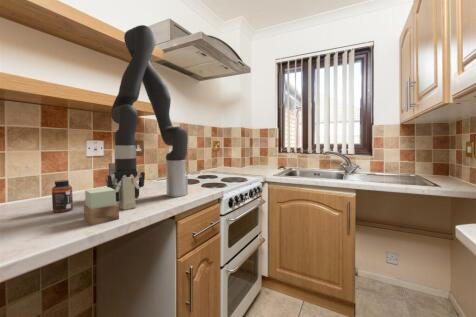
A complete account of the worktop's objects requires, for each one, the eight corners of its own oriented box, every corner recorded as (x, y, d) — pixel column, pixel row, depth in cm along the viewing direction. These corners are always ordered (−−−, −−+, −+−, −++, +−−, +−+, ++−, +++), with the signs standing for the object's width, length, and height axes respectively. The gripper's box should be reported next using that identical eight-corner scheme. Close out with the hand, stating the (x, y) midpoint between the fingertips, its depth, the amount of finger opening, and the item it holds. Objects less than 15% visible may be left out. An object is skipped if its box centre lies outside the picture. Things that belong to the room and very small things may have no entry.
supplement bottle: (74, 210, 83) (73, 180, 82) (54, 214, 78) (52, 182, 78) (71, 207, 87) (69, 178, 86) (51, 210, 82) (49, 180, 81)
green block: (109, 201, 78) (108, 187, 77) (116, 204, 73) (115, 190, 73) (85, 205, 73) (85, 190, 72) (91, 209, 68) (90, 193, 68)
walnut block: (111, 214, 79) (110, 200, 78) (119, 219, 73) (118, 204, 73) (84, 220, 73) (83, 205, 73) (91, 226, 67) (90, 210, 67)
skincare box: (135, 208, 86) (135, 177, 85) (124, 210, 83) (123, 178, 82) (129, 204, 91) (129, 175, 90) (118, 206, 87) (117, 176, 87)
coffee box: (126, 199, 100) (125, 163, 99) (110, 201, 96) (109, 164, 95) (124, 195, 107) (123, 162, 106) (109, 196, 104) (108, 162, 103)
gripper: (140, 156, 93) (141, 195, 94) (101, 157, 83) (103, 201, 84) (148, 156, 88) (149, 198, 89) (108, 158, 78) (109, 205, 79)
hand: (126, 199), depth 87 cm, fingers open, 6 cm apart
